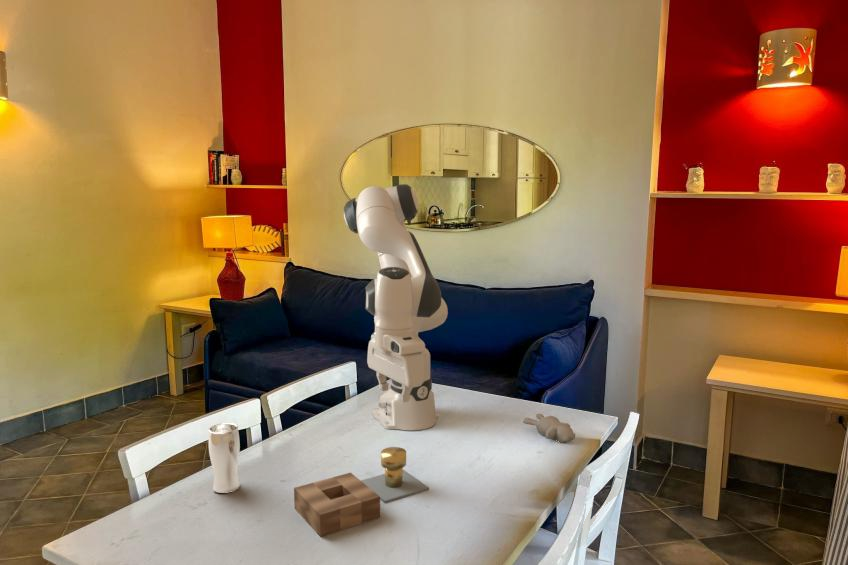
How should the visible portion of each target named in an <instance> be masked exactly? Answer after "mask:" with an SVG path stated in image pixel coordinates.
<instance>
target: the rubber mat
mask: <svg viewBox="0 0 848 565" xmlns="http://www.w3.org/2000/svg"><path fill="white" fill-rule="evenodd" d="M360 481H362V482H363V483H364V484H365V485H366V486H368V487H369V488H370V489H371V490H373V491H374V492H375V493H376V494H377V495H379V496H380V501H382V502H383V503H384V504H386V503H389V502H392V501H396V500H399V499H402V498H404V497H405V498H406V497H409V496H411V495H412V496H413V495H415V494H417V493H422V492H424V491H427V490H429V488H430V487H429V486H427V485H426V484H425V483H423V482H422V481H421V480H419V479H418V478H416V477H414V476H413V475H412V474H410V473H409V472H408V471H406V470H405V469H403V484H402V486H400V487H397V488H390V487H387V486H386V485H385V473H383V474H380V475H375V476H372V477H369V478H366V479H361V480H360Z"/></svg>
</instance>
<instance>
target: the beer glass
mask: <svg viewBox="0 0 848 565" xmlns="http://www.w3.org/2000/svg"><path fill="white" fill-rule="evenodd" d="M240 445H241V444H240V434H239V426H238V425H237V424H236V423H231V422H224V423H223V422H222V423H217V424H214V425H212V426H210V427H209V429H208V454H209V458H210V463H211V466H212V471H213V483H212V491H213V490H215V491H216V492H223V493H226V492H230V491H234V490H236V489H237V488H238V487H239V488H240V482H239V478H238V466H239V465H238V464H239V457H240V450H241V449H240V448H241V446H240ZM239 488H238V489H239ZM238 489H237V490H238ZM237 490H236V491H237ZM234 492H235V491H234Z"/></svg>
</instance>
